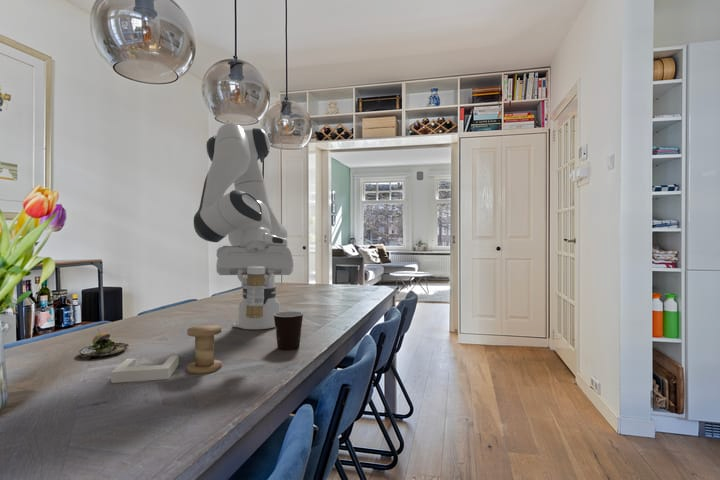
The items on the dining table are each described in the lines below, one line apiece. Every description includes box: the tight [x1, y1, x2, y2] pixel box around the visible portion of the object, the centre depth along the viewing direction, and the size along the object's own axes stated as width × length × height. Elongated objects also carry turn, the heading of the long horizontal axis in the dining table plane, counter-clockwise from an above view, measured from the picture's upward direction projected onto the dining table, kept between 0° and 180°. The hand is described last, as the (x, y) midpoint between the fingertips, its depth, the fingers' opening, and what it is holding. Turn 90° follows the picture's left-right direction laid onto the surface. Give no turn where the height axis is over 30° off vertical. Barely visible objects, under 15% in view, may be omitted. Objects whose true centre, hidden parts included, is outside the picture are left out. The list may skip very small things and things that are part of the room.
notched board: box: [110, 355, 179, 384], centre depth 95 cm, size 10×12×2 cm
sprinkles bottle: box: [246, 266, 265, 318], centre depth 104 cm, size 5×5×13 cm
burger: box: [78, 329, 130, 361], centre depth 112 cm, size 12×12×8 cm
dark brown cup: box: [274, 310, 304, 351], centre depth 120 cm, size 12×9×10 cm
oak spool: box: [186, 324, 223, 375], centre depth 99 cm, size 8×8×10 cm
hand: (255, 285), depth 104 cm, fingers closed on sprinkles bottle, 4 cm apart
